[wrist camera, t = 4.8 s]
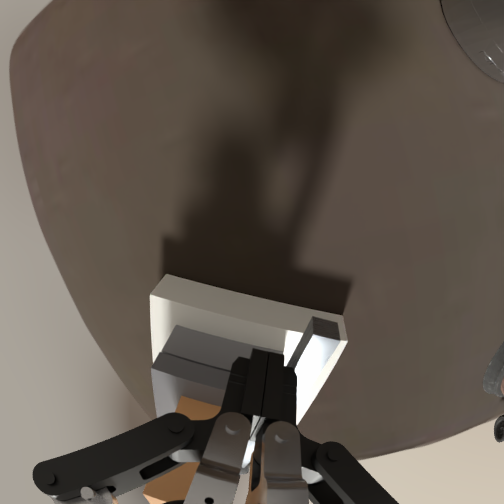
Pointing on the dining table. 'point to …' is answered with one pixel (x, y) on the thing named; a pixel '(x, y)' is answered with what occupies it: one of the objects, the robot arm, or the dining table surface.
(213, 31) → the dining table surface
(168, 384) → the plug
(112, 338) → the dining table surface
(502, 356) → the tankard
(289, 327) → the socket block
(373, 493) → the robot arm
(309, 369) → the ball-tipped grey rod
